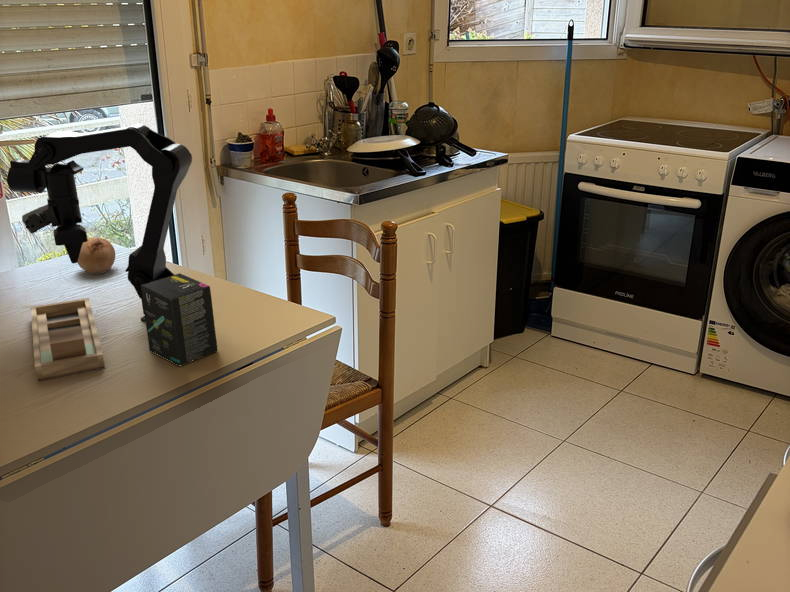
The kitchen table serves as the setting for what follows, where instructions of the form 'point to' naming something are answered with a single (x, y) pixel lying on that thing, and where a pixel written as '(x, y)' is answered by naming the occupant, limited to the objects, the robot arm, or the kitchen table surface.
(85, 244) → the onion
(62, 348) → the walnut block
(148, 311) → the tampon box
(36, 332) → the oak tray
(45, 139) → the robot arm
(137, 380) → the kitchen table surface
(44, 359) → the sage pad
